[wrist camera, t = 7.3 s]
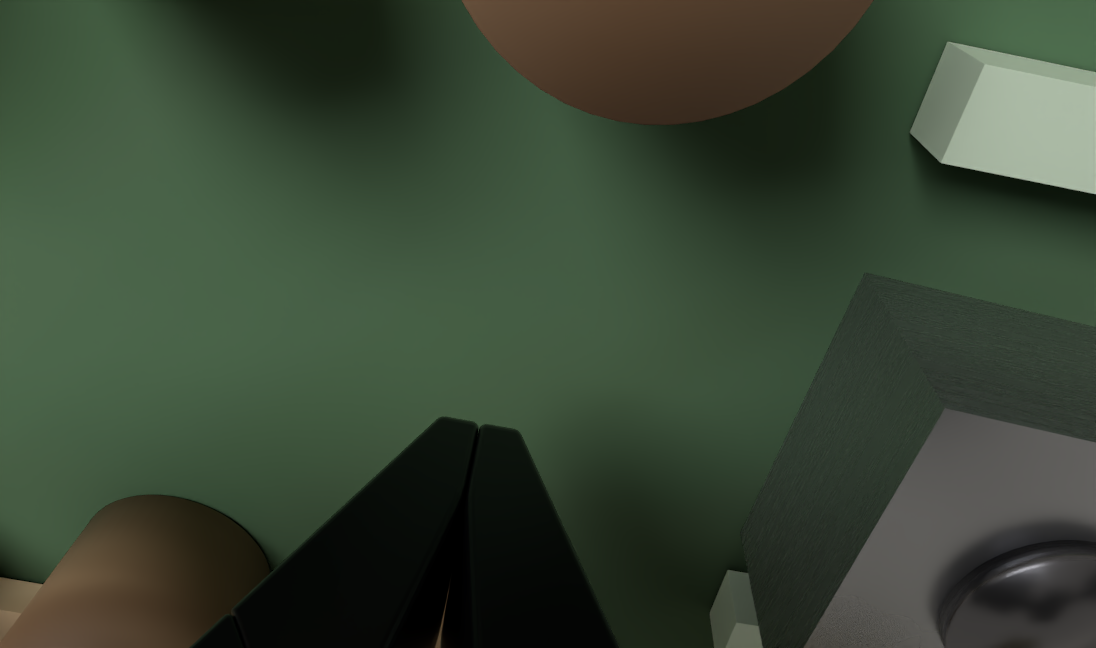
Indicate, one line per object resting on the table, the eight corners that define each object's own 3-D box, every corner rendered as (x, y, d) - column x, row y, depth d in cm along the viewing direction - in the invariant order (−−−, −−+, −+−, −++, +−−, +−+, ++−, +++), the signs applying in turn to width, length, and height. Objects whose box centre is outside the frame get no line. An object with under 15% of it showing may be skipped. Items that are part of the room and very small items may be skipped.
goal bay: (1563, 170, 9) (1662, 204, 8) (1126, 685, 14) (1162, 743, 13) (947, 41, 9) (984, 64, 8) (709, 613, 13) (716, 667, 13)
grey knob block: (1193, 344, 11) (1404, 529, 8) (1015, 582, 13) (1131, 792, 10) (860, 265, 10) (956, 427, 8) (738, 523, 13) (777, 722, 10)
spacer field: (927, -346, 7) (1157, -468, 4) (579, 712, 15) (573, 937, 12) (-980, -782, 7) (-2318, -1299, 4) (-324, 562, 14) (-574, 759, 11)
